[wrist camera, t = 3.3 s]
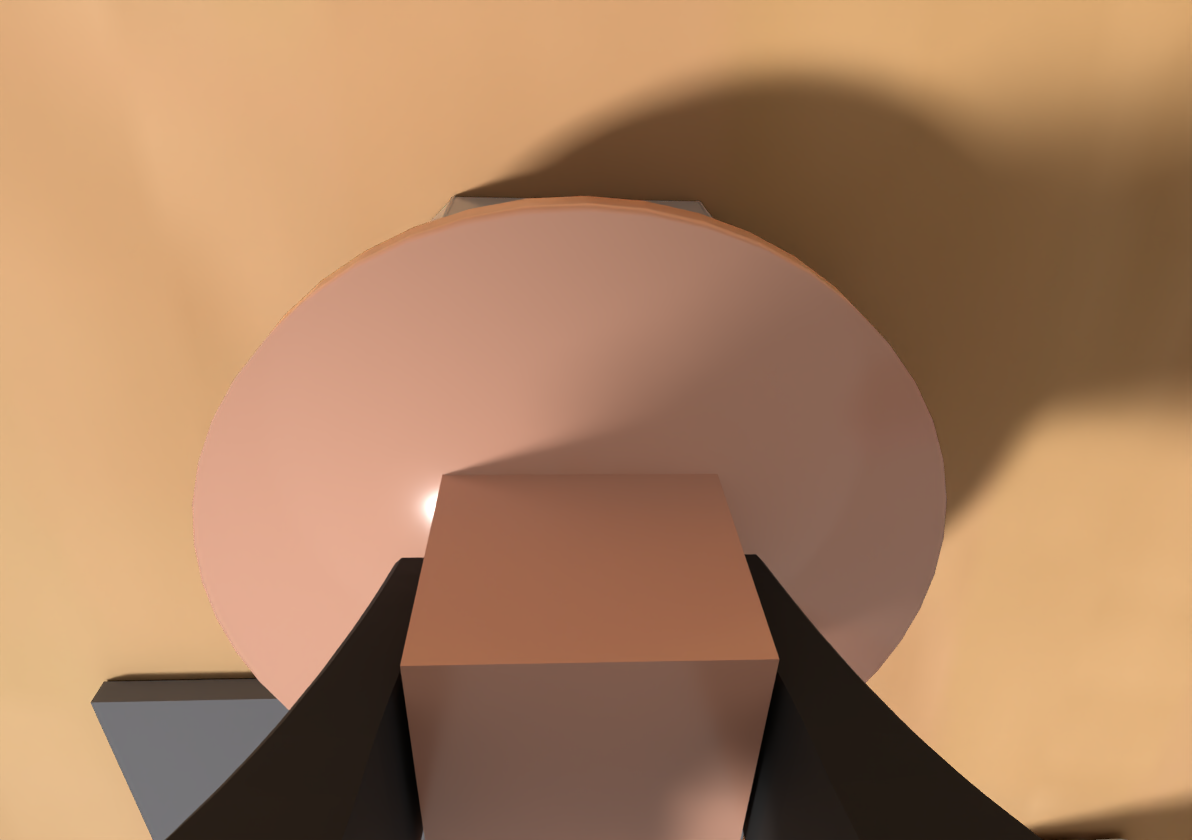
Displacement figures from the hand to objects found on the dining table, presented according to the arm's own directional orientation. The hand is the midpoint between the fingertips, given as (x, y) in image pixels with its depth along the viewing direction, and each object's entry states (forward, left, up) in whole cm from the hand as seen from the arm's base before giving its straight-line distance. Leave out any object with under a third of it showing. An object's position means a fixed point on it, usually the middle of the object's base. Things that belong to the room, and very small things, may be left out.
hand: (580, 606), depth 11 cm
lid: (0, 0, -1) cm, 1 cm away
